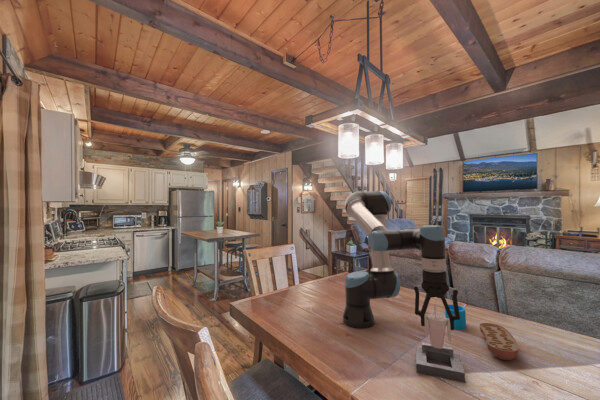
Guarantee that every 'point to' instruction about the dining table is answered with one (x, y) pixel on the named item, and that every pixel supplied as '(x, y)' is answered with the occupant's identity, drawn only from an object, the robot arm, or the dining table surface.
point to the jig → (439, 355)
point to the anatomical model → (499, 341)
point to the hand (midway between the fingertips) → (437, 337)
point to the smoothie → (436, 329)
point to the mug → (462, 322)
